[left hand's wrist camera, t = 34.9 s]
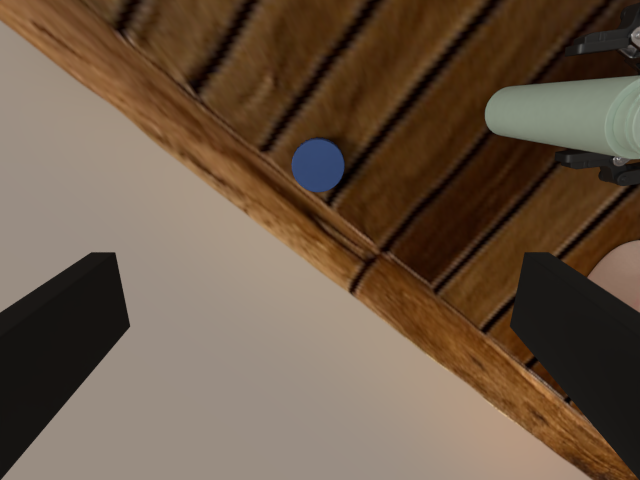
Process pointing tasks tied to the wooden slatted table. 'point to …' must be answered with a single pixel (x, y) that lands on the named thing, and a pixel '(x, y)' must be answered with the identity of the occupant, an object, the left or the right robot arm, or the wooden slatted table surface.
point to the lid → (318, 165)
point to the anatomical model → (621, 273)
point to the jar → (572, 114)
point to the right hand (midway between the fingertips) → (565, 106)
